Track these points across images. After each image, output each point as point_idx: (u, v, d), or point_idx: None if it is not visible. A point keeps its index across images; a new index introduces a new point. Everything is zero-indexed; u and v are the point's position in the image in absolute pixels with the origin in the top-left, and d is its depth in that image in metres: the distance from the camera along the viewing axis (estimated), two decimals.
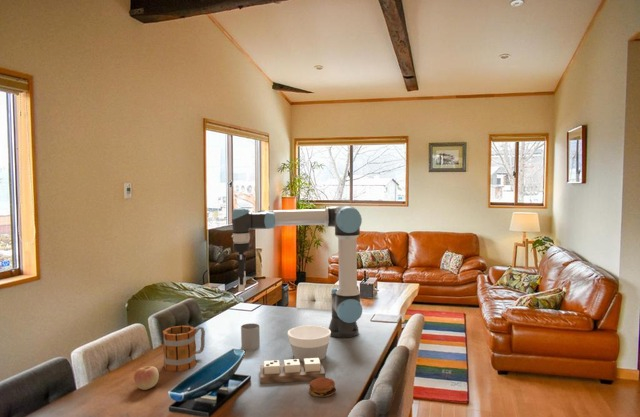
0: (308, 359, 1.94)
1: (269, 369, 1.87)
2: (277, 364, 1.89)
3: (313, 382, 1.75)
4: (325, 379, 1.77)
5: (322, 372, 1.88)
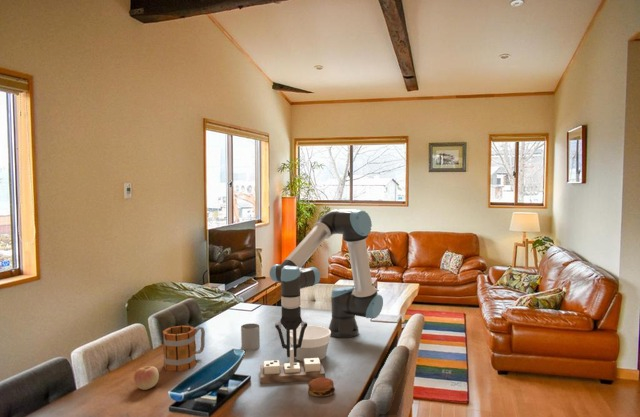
0: (308, 359, 1.94)
1: (269, 369, 1.87)
2: (277, 364, 1.89)
3: (312, 382, 1.75)
4: (324, 379, 1.77)
5: (322, 372, 1.88)
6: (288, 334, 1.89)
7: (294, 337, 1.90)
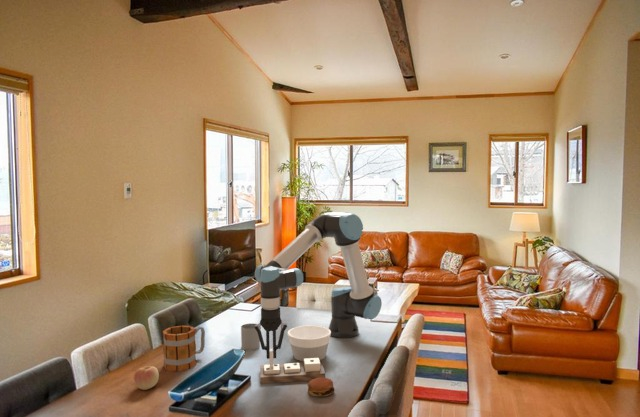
0: (308, 359, 1.94)
1: (269, 372, 1.87)
2: (277, 368, 1.89)
3: (312, 382, 1.75)
4: (324, 379, 1.77)
5: (322, 372, 1.88)
6: (268, 335, 1.88)
7: (274, 338, 1.89)
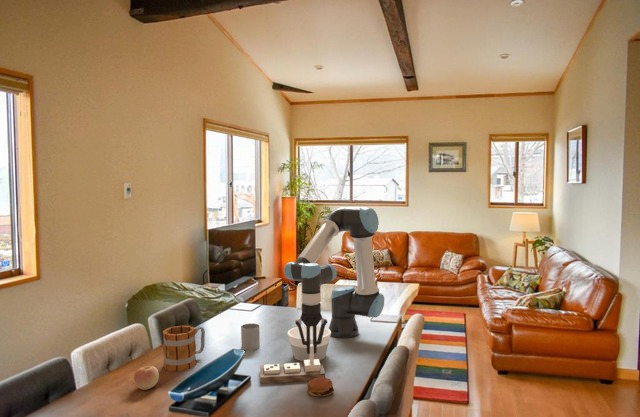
0: (308, 360, 1.94)
1: (269, 373, 1.87)
2: (277, 368, 1.89)
3: (311, 382, 1.75)
4: (323, 379, 1.77)
5: (322, 372, 1.88)
6: (308, 331, 1.90)
7: (314, 334, 1.90)
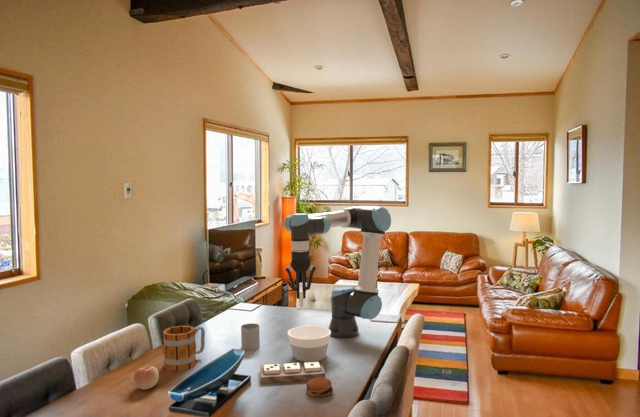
0: (308, 363, 1.94)
1: (269, 373, 1.87)
2: (277, 368, 1.89)
3: (310, 382, 1.75)
4: (322, 379, 1.77)
5: (322, 372, 1.88)
6: (298, 277, 2.01)
7: (303, 280, 2.01)
